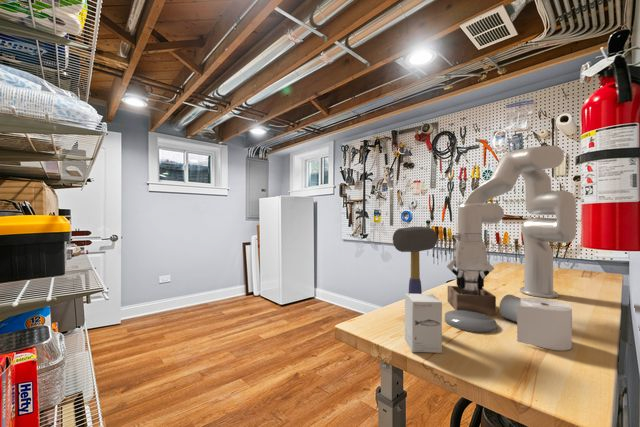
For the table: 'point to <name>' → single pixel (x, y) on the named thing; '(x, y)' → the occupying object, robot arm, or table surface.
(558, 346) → the toilet tissue
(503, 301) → the ceramic mug
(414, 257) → the rubber mallet
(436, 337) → the supplement box
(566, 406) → the table surface
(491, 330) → the plate
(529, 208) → the robot arm
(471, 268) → the plastic bottle
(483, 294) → the holder
